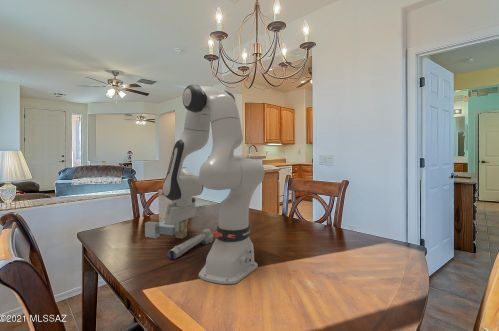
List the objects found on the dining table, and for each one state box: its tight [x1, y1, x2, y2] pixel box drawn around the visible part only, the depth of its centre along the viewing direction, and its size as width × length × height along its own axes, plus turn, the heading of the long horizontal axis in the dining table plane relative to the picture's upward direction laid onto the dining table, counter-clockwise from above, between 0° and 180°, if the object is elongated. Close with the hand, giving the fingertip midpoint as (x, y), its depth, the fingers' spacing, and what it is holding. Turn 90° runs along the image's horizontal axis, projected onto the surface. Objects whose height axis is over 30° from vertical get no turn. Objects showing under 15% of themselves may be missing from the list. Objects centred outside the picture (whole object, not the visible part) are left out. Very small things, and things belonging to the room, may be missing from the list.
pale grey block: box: [144, 221, 161, 239], centre depth 129 cm, size 3×6×7 cm, turn 70°
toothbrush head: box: [167, 228, 214, 260], centre depth 114 cm, size 5×7×25 cm
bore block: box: [159, 221, 176, 237], centre depth 139 cm, size 12×12×4 cm
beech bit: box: [175, 220, 188, 239], centre depth 130 cm, size 4×4×8 cm
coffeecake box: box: [157, 189, 171, 223], centre depth 157 cm, size 15×7×20 cm, turn 144°
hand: (181, 229), depth 130 cm, fingers closed on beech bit, 4 cm apart
